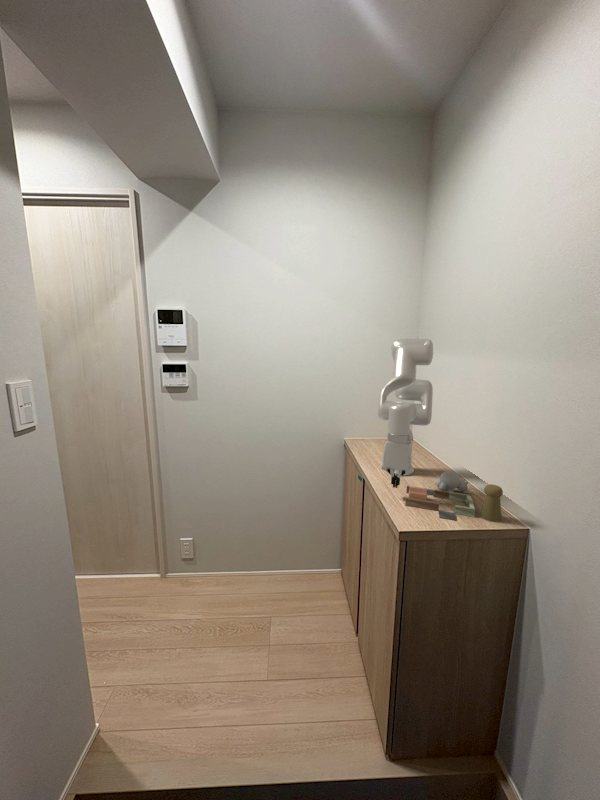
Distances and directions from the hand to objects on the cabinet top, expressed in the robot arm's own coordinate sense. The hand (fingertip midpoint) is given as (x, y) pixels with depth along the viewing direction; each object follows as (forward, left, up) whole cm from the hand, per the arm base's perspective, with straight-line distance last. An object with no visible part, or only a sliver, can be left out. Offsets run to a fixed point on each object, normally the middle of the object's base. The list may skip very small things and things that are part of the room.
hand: (395, 486), depth 121 cm
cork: (+4, +31, -5) cm, 32 cm away
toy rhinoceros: (-13, +21, -5) cm, 25 cm away
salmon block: (-1, +8, -5) cm, 9 cm away
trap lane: (-1, +15, -4) cm, 16 cm away
